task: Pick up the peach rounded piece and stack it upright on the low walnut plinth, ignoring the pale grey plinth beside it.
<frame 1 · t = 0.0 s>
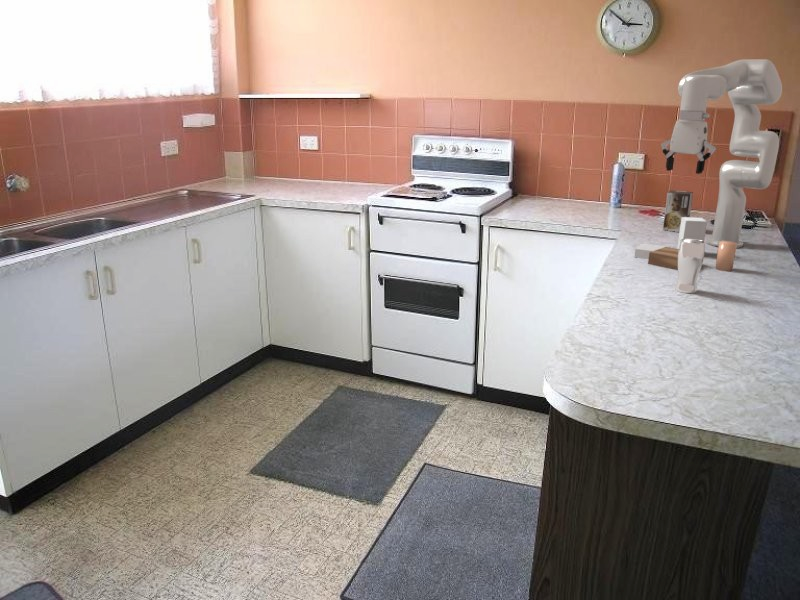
hand: (683, 171, 214), 31 cm above the worktop, tool pointing down, fingers open, 9 cm apart
walnut plinth: (673, 264, 225), on the worktop
peach rounded piece: (723, 269, 221), on the worktop
coffee box: (675, 231, 277), on the worktop
beer glass: (685, 290, 198), on the worktop
supplement box: (688, 254, 240), on the worktop
grey plinth: (652, 256, 236), on the worktop
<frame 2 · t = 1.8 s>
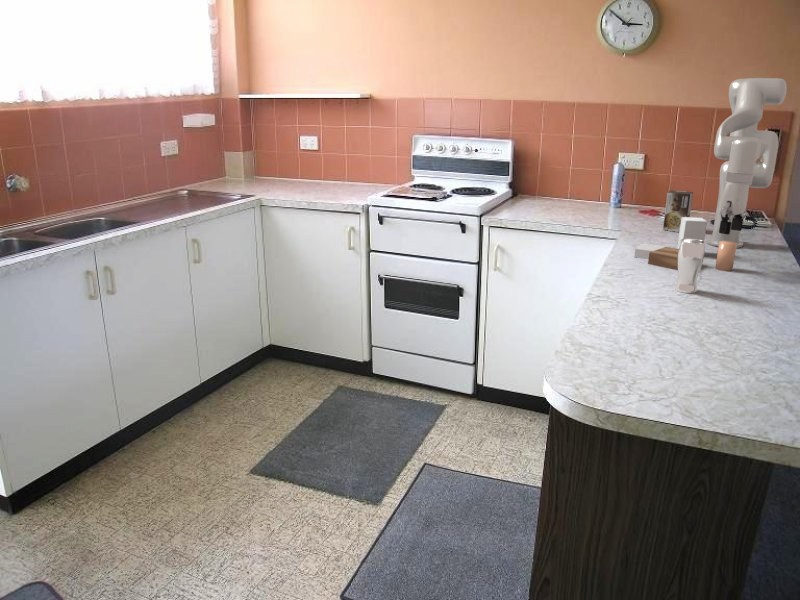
hand: (730, 231, 216), 13 cm above the worktop, tool pointing down, fingers open, 9 cm apart
nothing on the worktop moved.
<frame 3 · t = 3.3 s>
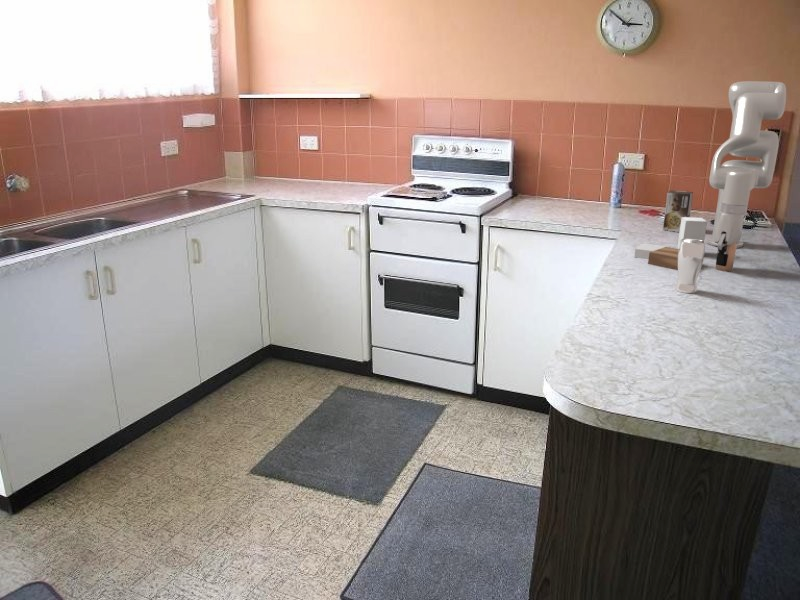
hand: (724, 263, 220), 2 cm above the worktop, tool pointing down, fingers closed on peach rounded piece, 5 cm apart
peach rounded piece: (723, 269, 221), on the worktop, touching gripper
everything else where it was.
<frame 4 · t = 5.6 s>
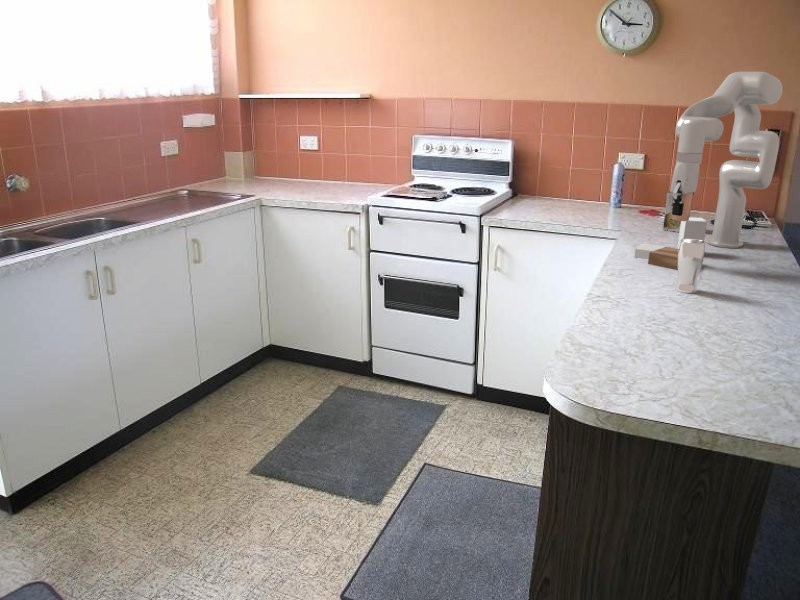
hand: (681, 213, 220), 17 cm above the worktop, tool pointing down, fingers closed on peach rounded piece, 5 cm apart
peach rounded piece: (680, 219, 221), point 15 cm above the worktop, touching gripper
everything else where it was.
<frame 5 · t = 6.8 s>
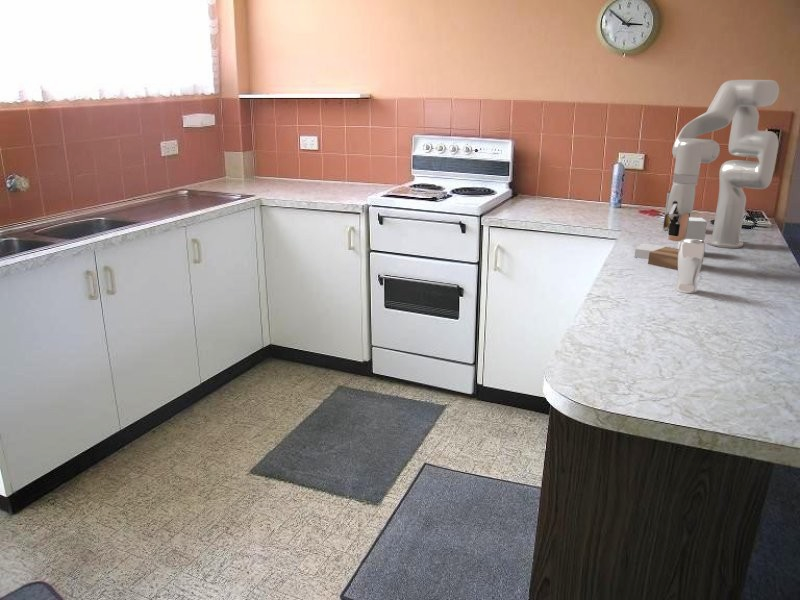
hand: (677, 233, 222), 11 cm above the worktop, tool pointing down, fingers closed on peach rounded piece, 5 cm apart
peach rounded piece: (676, 239, 223), point 9 cm above the worktop, touching gripper
everything else where it was.
when the fingers open (7 cm above the worktop, at t = 7.9 s): peach rounded piece stays where it is, resting on walnut plinth.
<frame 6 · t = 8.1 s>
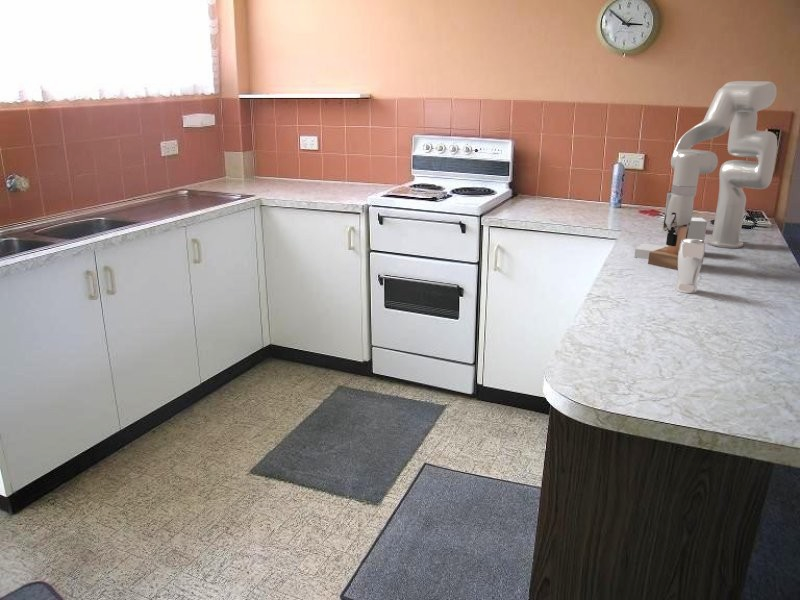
hand: (676, 243, 223), 7 cm above the worktop, tool pointing down, fingers open, 7 cm apart
peach rounded piece: (675, 252, 224), point 4 cm above the worktop, touching walnut plinth
everything else where it was.
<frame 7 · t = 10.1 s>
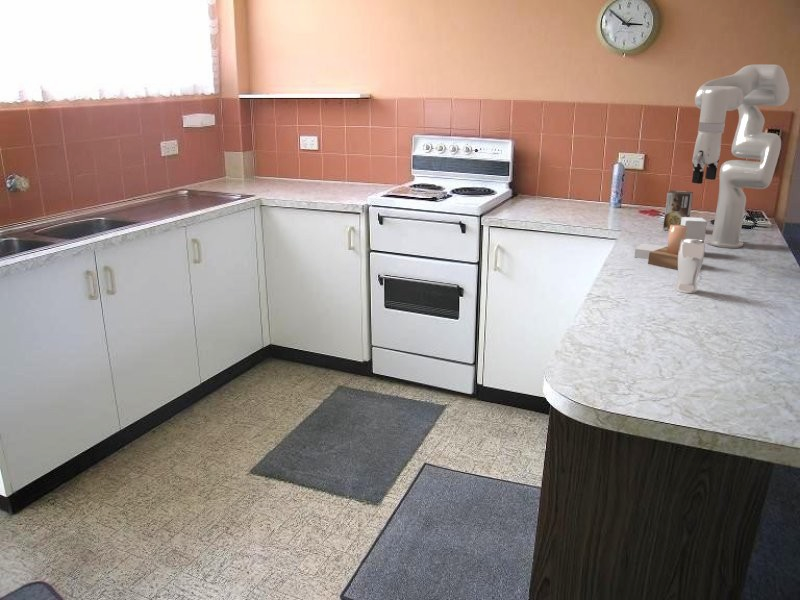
hand: (703, 181, 220), 28 cm above the worktop, tool pointing down, fingers open, 9 cm apart
nothing on the worktop moved.
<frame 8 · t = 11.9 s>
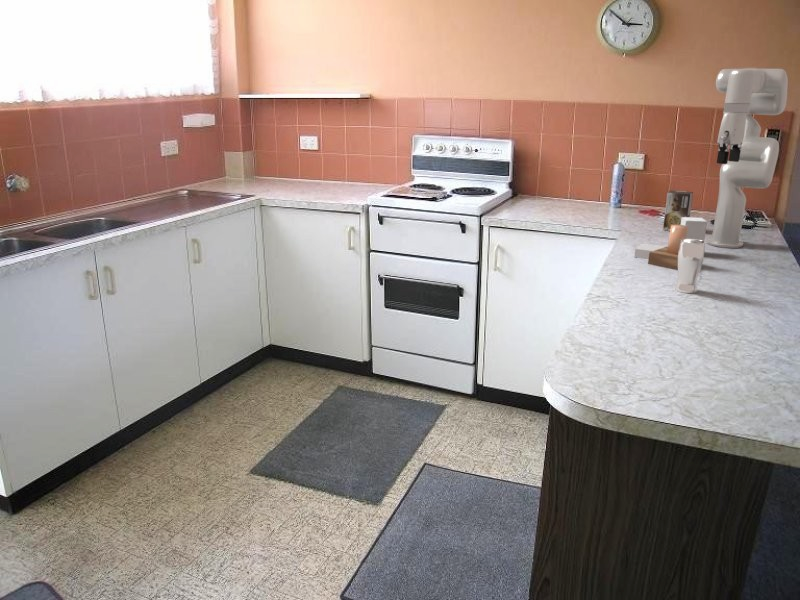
hand: (727, 162, 222), 33 cm above the worktop, tool pointing down, fingers open, 9 cm apart
nothing on the worktop moved.
at the end: peach rounded piece inside the target area on the walnut plinth (0.1 cm from its centre), point 4.1 cm above the walnut plinth's base; peach rounded piece tilted 2°; the gripper is holding nothing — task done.
